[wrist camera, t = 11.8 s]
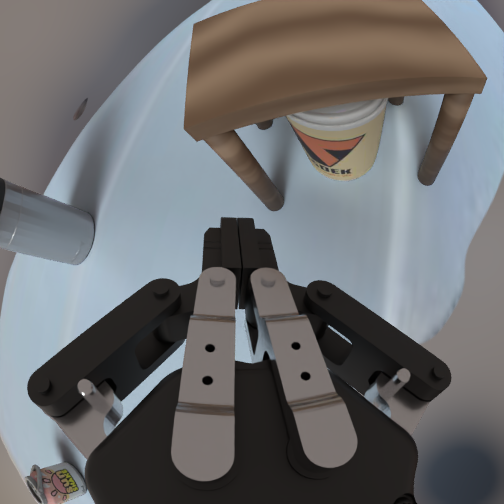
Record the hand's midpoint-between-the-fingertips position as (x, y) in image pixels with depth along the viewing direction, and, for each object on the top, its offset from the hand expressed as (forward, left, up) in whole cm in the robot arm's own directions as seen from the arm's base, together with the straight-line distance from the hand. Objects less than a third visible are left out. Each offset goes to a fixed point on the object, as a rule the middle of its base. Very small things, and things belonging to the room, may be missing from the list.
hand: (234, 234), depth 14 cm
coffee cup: (-5, +13, -16) cm, 22 cm away
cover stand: (-6, +14, -16) cm, 22 cm away
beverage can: (-1, -61, -16) cm, 63 cm away
